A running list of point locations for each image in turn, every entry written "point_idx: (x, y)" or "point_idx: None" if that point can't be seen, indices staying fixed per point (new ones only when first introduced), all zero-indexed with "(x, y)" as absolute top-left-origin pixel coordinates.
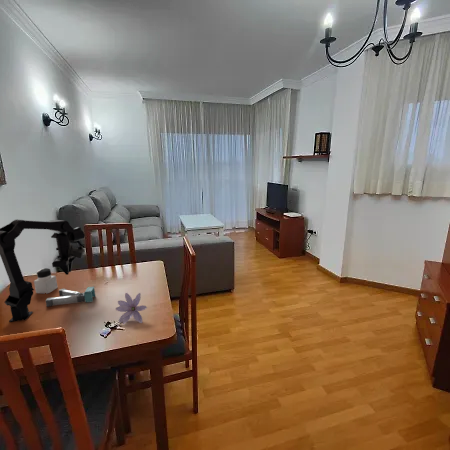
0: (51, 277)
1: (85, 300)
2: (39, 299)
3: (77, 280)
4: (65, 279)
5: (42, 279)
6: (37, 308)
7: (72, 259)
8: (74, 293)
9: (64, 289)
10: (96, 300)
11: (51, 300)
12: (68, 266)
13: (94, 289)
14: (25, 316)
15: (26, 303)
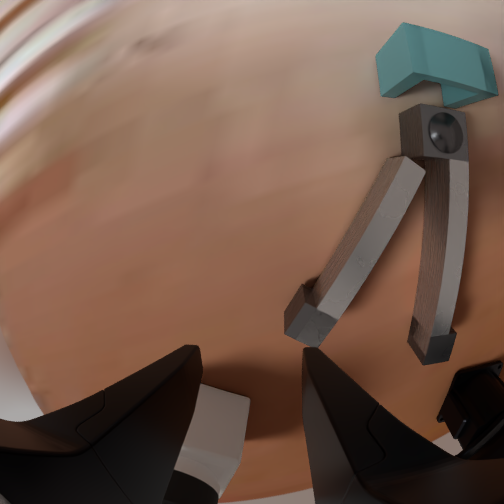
0: None
1: (462, 105)
2: None
3: (76, 282)
4: (71, 352)
5: (217, 482)
6: (425, 373)
7: (16, 479)
8: (413, 195)
9: (312, 311)
10: None
11: (447, 330)
12: (374, 448)
13: (396, 34)
14: (491, 374)
15: None
